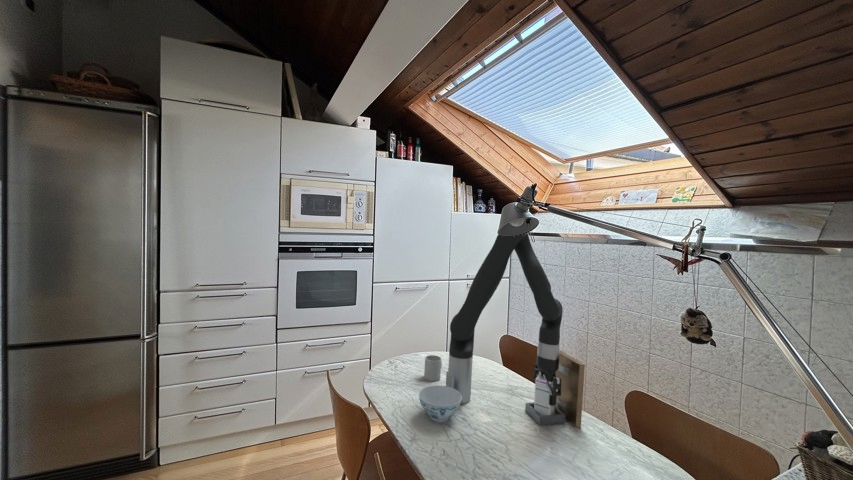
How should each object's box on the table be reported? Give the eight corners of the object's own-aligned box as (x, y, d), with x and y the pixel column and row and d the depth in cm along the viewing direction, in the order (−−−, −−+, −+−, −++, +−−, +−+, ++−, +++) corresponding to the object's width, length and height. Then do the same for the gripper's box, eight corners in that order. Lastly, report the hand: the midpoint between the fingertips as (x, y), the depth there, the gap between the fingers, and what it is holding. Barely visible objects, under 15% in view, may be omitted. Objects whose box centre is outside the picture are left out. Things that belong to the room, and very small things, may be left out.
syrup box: (549, 423, 119) (552, 382, 118) (532, 417, 122) (535, 377, 122) (554, 416, 123) (557, 377, 123) (538, 411, 127) (540, 372, 126)
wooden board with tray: (544, 431, 114) (548, 366, 113) (521, 406, 129) (524, 349, 129) (580, 428, 117) (584, 364, 116) (553, 404, 132) (557, 348, 132)
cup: (420, 378, 150) (421, 358, 150) (434, 371, 158) (435, 352, 158) (433, 383, 145) (435, 362, 145) (446, 376, 153) (448, 356, 153)
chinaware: (433, 434, 109) (435, 410, 109) (409, 412, 121) (411, 390, 121) (469, 421, 117) (470, 399, 117) (443, 402, 130) (444, 382, 129)
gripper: (528, 348, 128) (526, 390, 129) (550, 362, 114) (547, 410, 115) (546, 347, 130) (543, 389, 130) (569, 361, 116) (566, 408, 116)
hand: (545, 399), depth 122 cm, fingers open, 8 cm apart
